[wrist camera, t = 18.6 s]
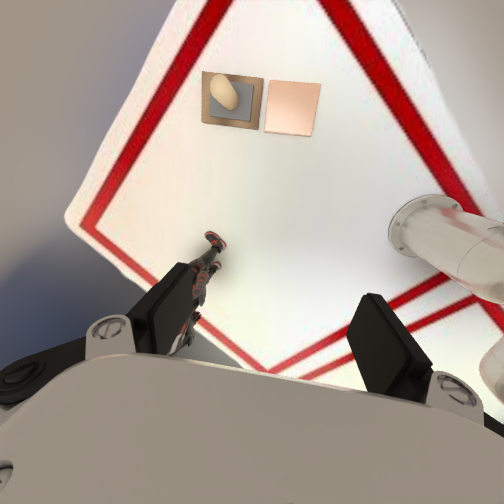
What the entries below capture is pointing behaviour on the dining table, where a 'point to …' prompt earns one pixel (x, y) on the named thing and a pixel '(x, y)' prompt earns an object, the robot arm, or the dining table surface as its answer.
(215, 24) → the dining table surface
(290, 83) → the tile
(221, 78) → the float
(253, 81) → the board
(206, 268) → the action figure
